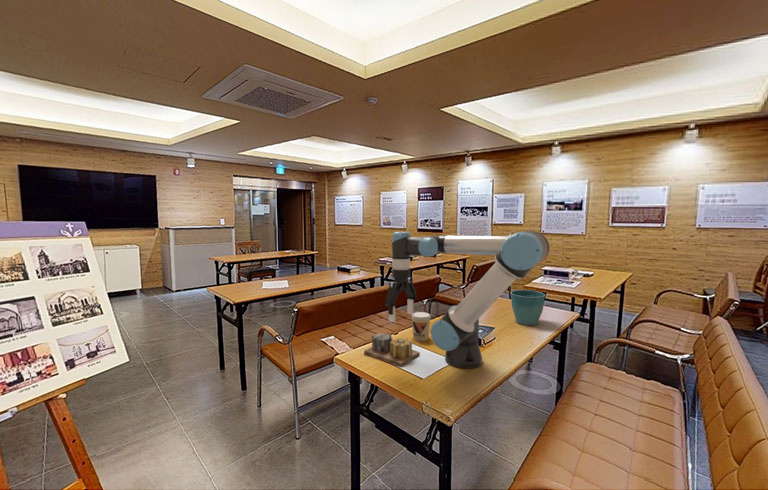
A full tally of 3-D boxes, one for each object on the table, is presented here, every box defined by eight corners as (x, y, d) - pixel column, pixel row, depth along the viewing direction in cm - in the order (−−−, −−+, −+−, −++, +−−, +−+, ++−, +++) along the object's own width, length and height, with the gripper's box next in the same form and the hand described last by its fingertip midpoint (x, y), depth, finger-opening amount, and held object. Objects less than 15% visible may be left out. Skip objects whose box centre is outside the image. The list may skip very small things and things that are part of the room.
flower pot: (505, 323, 186) (506, 294, 185) (513, 315, 201) (514, 288, 199) (540, 329, 176) (542, 298, 174) (546, 321, 191) (547, 292, 189)
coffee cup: (409, 339, 162) (409, 316, 161) (414, 333, 171) (414, 311, 170) (427, 342, 159) (427, 318, 158) (432, 336, 168) (432, 313, 167)
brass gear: (415, 353, 143) (415, 341, 142) (403, 360, 136) (403, 348, 135) (398, 348, 149) (398, 336, 148) (385, 355, 141) (385, 342, 141)
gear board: (419, 355, 144) (419, 337, 144) (401, 366, 134) (401, 347, 133) (383, 344, 157) (383, 328, 156) (364, 354, 146) (364, 336, 145)
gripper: (410, 264, 151) (410, 309, 152) (375, 271, 131) (376, 323, 133) (424, 265, 146) (424, 312, 148) (390, 273, 127) (391, 327, 128)
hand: (401, 317), depth 140 cm, fingers open, 13 cm apart
